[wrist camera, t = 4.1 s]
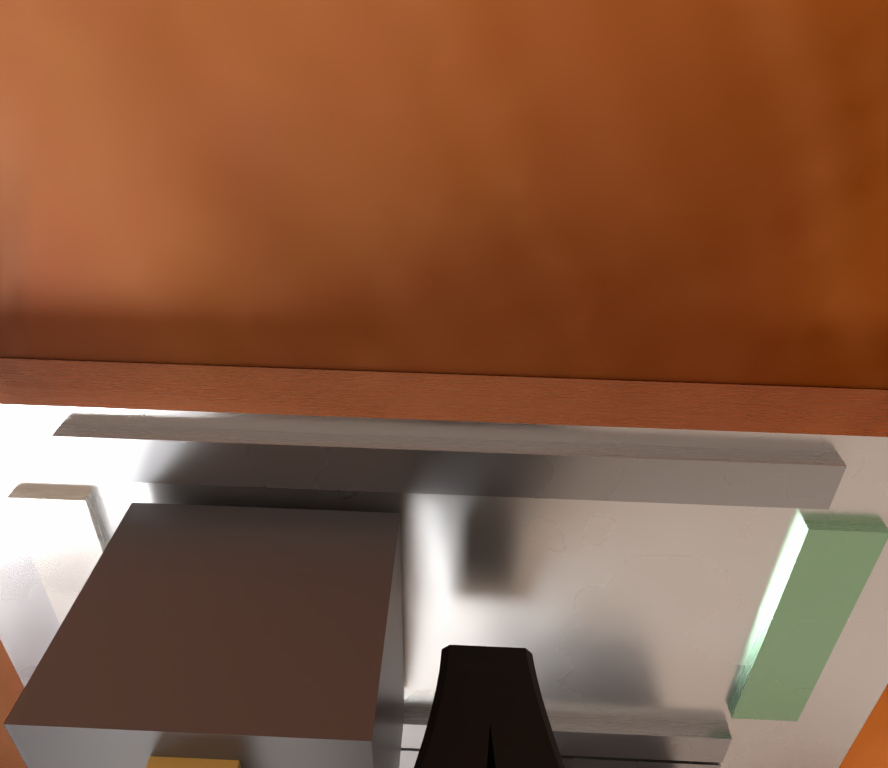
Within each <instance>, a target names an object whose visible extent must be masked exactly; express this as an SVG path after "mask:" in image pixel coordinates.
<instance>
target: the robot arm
mask: <svg viewBox="0 0 888 768" xmlns="http://www.w3.org/2000/svg"><path fill="white" fill-rule="evenodd" d="M414 768H565V766H564V763H563V760H562V757H561V754H560V752H559V749H558V746H557V743H556V740H555V737H554V734H553V731H552V728H551V724H550V721H549V718H548V715H547V712H546V708H545V705H544V702H543V698H542V694H541V691H540V687H539V683H538V679H537V675H536V670H535V666H534V661H533V655H532V653H531V652H530V651H529V650H527V649H526V648H514V647H492V646H469V645H448V646H446V647H445V648H443V649H442V650H441V660H440V669H439V675H438V680H437V686H436V691H435V695H434V700H433V704H432V708H431V712H430V716H429V719H428V723H427V727H426V730H425V734H424V738H423V741H422V744H421V747H420V750H419V753H418V756H417V759H416V762H415V766H414Z"/></svg>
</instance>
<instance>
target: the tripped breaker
mask: <svg viewBox="0 0 888 768" xmlns="http://www.w3.org/2000/svg"><path fill="white" fill-rule="evenodd" d="M403 721H404V671H403V620H402V570H401V519H400V513H383V512H358V511H333V510H308V509H283V508H258V507H233V506H207V505H182V504H157V503H131V505H130V506H129V508H128V510H127V512H126V513H125V515H124V517H123V519H122V520H121V522H120V524H119V525H118V527H117V529H116V531H115V532H114V534H113V536H112V538H111V539H110V541H109V543H108V544H107V546H106V548H105V550H104V551H103V553H102V555H101V557H100V558H99V560H98V562H97V563H96V565H95V567H94V569H93V570H92V572H91V574H90V576H89V577H88V579H87V581H86V582H85V584H84V586H83V588H82V589H81V591H80V593H79V595H78V596H77V598H76V600H75V601H74V603H73V605H72V607H71V608H70V610H69V612H68V614H67V615H66V617H65V619H64V620H63V622H62V624H61V626H60V627H59V629H58V631H57V633H56V634H55V636H54V638H53V640H52V641H51V643H50V645H49V646H48V648H47V650H46V652H45V653H44V655H43V657H42V659H41V660H40V662H39V664H38V665H37V667H36V669H35V671H34V672H33V674H32V676H31V678H30V679H29V681H28V683H27V684H26V686H25V688H24V690H23V691H22V693H21V695H20V697H19V698H18V700H17V702H16V703H15V705H14V707H13V709H12V710H11V712H10V714H9V716H8V717H7V719H6V721H5V722H4V726H5V728H6V730H7V732H8V733H9V735H10V737H11V739H12V741H13V742H14V744H15V746H16V748H17V750H18V752H19V753H20V755H21V757H22V759H23V761H24V763H25V764H26V766H27V768H399V766H400V754H401V743H402V732H403Z"/></svg>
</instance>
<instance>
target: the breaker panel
mask: <svg viewBox="0 0 888 768" xmlns="http://www.w3.org/2000/svg"><path fill="white" fill-rule="evenodd" d="M131 503H157V504H182V505H207V506H233V507H258V508H283V509H308V510H333V511H358V512H383V513H400V519H401V570H402V620H403V671H404V721H403V732H402V743H401V754H400V766H399V768H414V766H415V762H416V759H417V756H418V753H419V750H420V747H421V744H422V741H423V738H424V734H425V730H426V727H427V723H428V719H429V716H430V712H431V708H432V704H433V700H434V695H435V691H436V686H437V680H438V675H439V669H440V660H441V650H442V649H443V648H445V647H446V646H448V645H469V646H492V647H514V648H526V649H527V650H529V651H530V652H531V653H532V655H533V661H534V666H535V670H536V675H537V679H538V683H539V687H540V691H541V694H542V698H543V702H544V705H545V708H546V712H547V715H548V718H549V721H550V724H551V728H552V731H553V734H554V737H555V740H556V743H557V746H558V749H559V752H560V754H561V757H562V760H563V763H564V766H565V768H839V766H840V764H841V762H842V761H843V759H844V757H845V756H846V754H847V752H848V751H849V749H850V747H851V745H852V744H853V742H854V740H855V739H856V737H857V735H858V733H859V732H860V730H861V728H862V727H863V725H864V723H865V722H866V720H867V718H868V716H869V715H870V713H871V711H872V710H873V708H874V706H875V704H876V703H877V701H878V699H879V698H880V696H881V694H882V692H883V691H884V689H885V687H886V686H887V684H888V390H874V389H846V388H818V387H790V386H762V385H734V384H707V383H679V382H651V381H623V380H595V379H567V378H539V377H511V376H483V375H455V374H427V373H399V372H371V371H343V370H315V369H287V368H259V367H231V366H203V365H175V364H147V363H119V362H91V361H63V360H35V359H7V358H0V640H1V642H2V644H3V646H4V648H5V650H6V652H7V654H8V656H9V658H10V660H11V662H12V664H13V666H14V668H15V670H16V672H17V674H18V676H19V678H20V680H21V682H22V684H23V686H24V688H25V686H26V684H27V683H28V681H29V679H30V678H31V676H32V674H33V672H34V671H35V669H36V667H37V665H38V664H39V662H40V660H41V659H42V657H43V655H44V653H45V652H46V650H47V648H48V646H49V645H50V643H51V641H52V640H53V638H54V636H55V634H56V633H57V631H58V629H59V627H60V626H61V624H62V622H63V620H64V619H65V617H66V615H67V614H68V612H69V610H70V608H71V607H72V605H73V603H74V601H75V600H76V598H77V596H78V595H79V593H80V591H81V589H82V588H83V586H84V584H85V582H86V581H87V579H88V577H89V576H90V574H91V572H92V570H93V569H94V567H95V565H96V563H97V562H98V560H99V558H100V557H101V555H102V553H103V551H104V550H105V548H106V546H107V544H108V543H109V541H110V539H111V538H112V536H113V534H114V532H115V531H116V529H117V527H118V525H119V524H120V522H121V520H122V519H123V517H124V515H125V513H126V512H127V510H128V508H129V506H130V505H131Z"/></svg>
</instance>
